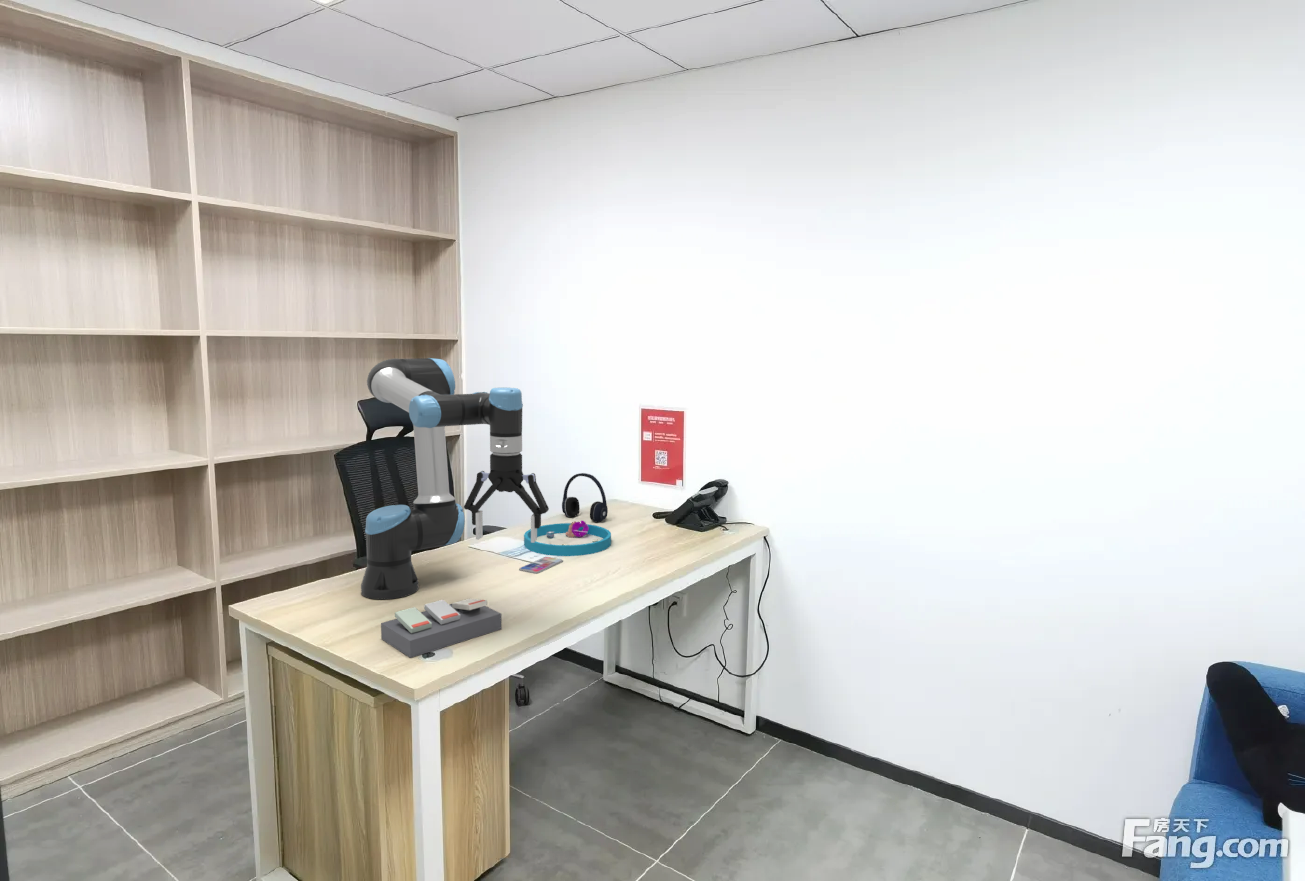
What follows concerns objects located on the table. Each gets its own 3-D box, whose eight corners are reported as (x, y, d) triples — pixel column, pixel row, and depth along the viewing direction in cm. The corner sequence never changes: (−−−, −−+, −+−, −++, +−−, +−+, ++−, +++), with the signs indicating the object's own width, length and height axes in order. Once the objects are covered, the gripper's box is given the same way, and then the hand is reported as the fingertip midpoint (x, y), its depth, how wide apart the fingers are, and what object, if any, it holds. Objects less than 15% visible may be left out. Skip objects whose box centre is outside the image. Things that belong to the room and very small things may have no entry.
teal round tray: (619, 536, 269) (619, 520, 268) (599, 560, 240) (599, 542, 239) (540, 531, 274) (540, 515, 273) (511, 554, 245) (511, 536, 244)
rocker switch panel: (371, 633, 177) (371, 614, 177) (460, 608, 194) (459, 591, 194) (410, 657, 164) (409, 637, 164) (501, 629, 181) (501, 610, 181)
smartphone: (564, 559, 237) (537, 572, 223) (564, 562, 237) (537, 575, 223) (545, 555, 240) (517, 568, 227) (545, 558, 240) (517, 571, 227)
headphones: (559, 517, 294) (559, 471, 291) (570, 513, 300) (570, 469, 297) (599, 524, 283) (599, 478, 281) (609, 521, 289) (610, 475, 286)
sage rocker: (394, 616, 172) (395, 611, 172) (414, 611, 176) (415, 606, 176) (411, 633, 167) (411, 627, 167) (431, 627, 171) (431, 622, 170)
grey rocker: (424, 608, 178) (424, 603, 177) (442, 603, 181) (443, 598, 181) (441, 624, 173) (441, 619, 172) (460, 619, 176) (460, 614, 176)
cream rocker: (452, 608, 183) (451, 602, 183) (470, 603, 187) (469, 597, 187) (469, 610, 177) (468, 604, 177) (487, 605, 181) (486, 599, 181)
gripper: (449, 453, 173) (450, 540, 176) (553, 457, 170) (553, 546, 174) (461, 448, 181) (462, 532, 184) (561, 452, 178) (560, 538, 181)
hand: (506, 539), depth 179 cm, fingers open, 13 cm apart
